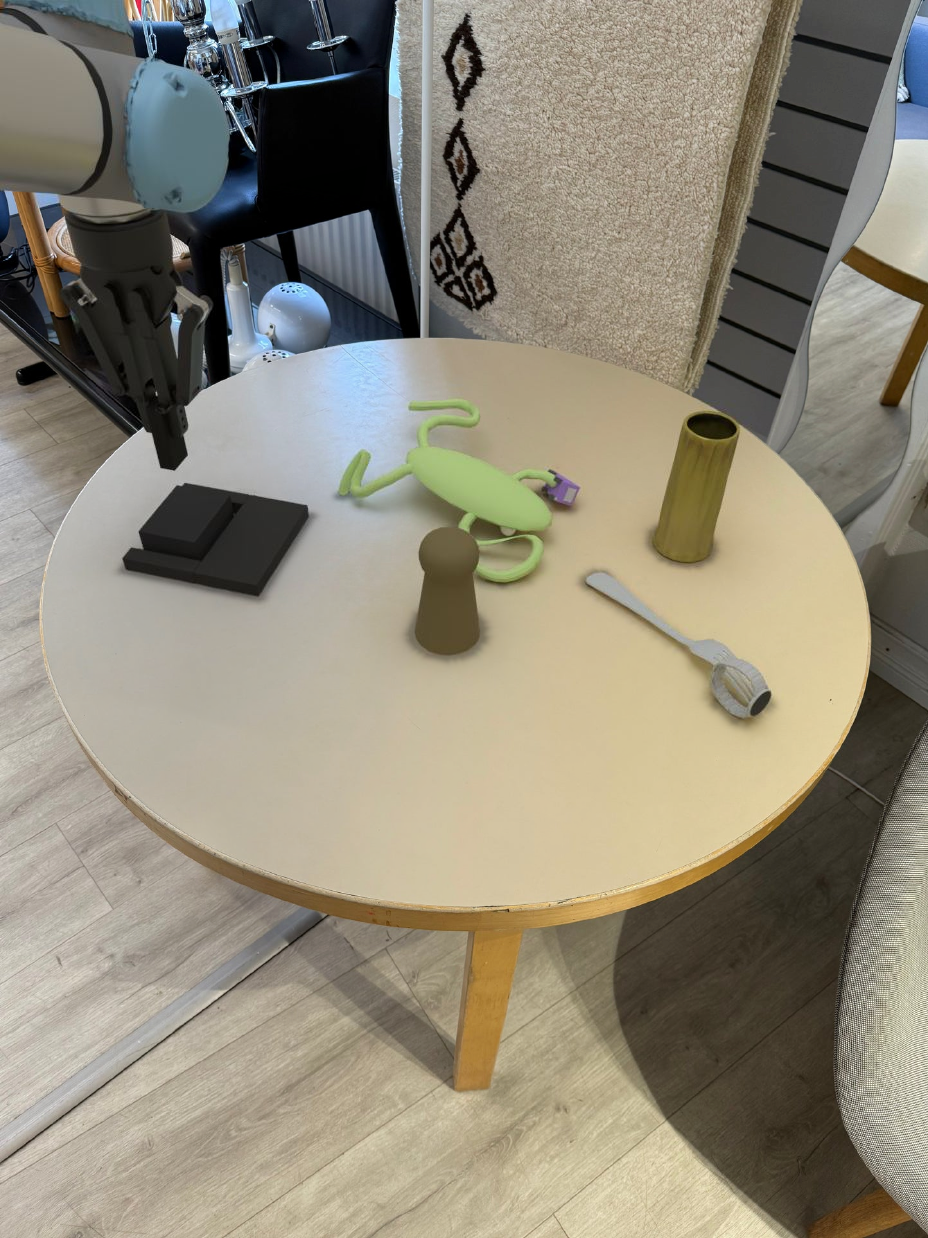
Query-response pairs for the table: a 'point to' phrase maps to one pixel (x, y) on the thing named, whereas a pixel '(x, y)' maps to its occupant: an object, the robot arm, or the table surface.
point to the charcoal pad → (187, 523)
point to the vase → (696, 486)
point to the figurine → (471, 486)
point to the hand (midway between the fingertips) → (174, 461)
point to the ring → (756, 680)
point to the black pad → (233, 546)
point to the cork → (448, 592)
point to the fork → (701, 648)
